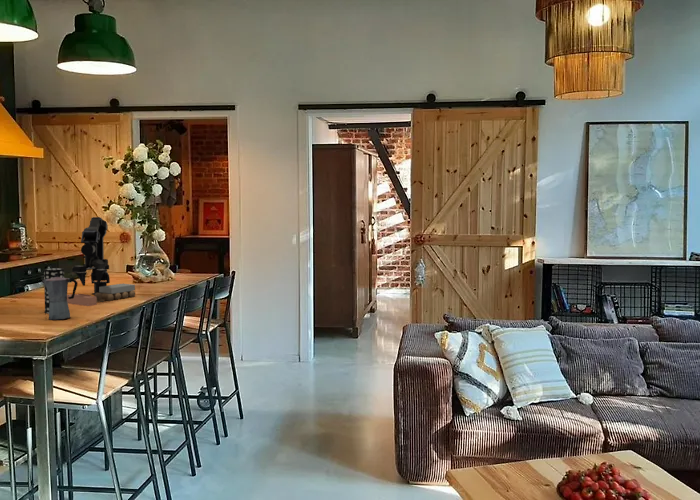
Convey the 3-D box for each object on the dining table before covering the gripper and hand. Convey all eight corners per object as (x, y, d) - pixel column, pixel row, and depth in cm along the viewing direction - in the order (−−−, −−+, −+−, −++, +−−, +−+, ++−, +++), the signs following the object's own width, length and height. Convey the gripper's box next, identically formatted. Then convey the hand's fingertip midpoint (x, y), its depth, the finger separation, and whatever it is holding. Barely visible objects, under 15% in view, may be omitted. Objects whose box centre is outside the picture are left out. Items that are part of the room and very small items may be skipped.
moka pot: (46, 316, 293) (45, 271, 292) (82, 316, 295) (81, 272, 293) (38, 320, 284) (37, 274, 282) (75, 320, 285) (74, 274, 284)
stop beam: (65, 303, 330) (65, 294, 329) (74, 301, 334) (73, 292, 334) (88, 305, 322) (88, 296, 322) (96, 304, 327) (96, 295, 326)
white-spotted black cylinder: (68, 311, 307) (67, 268, 305) (55, 314, 299) (54, 270, 297) (54, 310, 309) (53, 267, 308) (40, 312, 302) (39, 269, 300)
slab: (99, 292, 344) (99, 286, 344) (122, 288, 358) (122, 283, 358) (111, 293, 340) (111, 288, 339) (134, 290, 354) (134, 284, 354)
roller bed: (78, 302, 333) (78, 295, 333) (121, 295, 358) (121, 288, 358) (92, 303, 329) (92, 297, 328) (135, 296, 354) (135, 290, 353)
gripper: (87, 256, 320) (87, 288, 321) (116, 253, 337) (117, 283, 338) (71, 254, 325) (71, 286, 326) (101, 252, 342) (101, 282, 343)
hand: (91, 284), depth 333 cm, fingers open, 9 cm apart
